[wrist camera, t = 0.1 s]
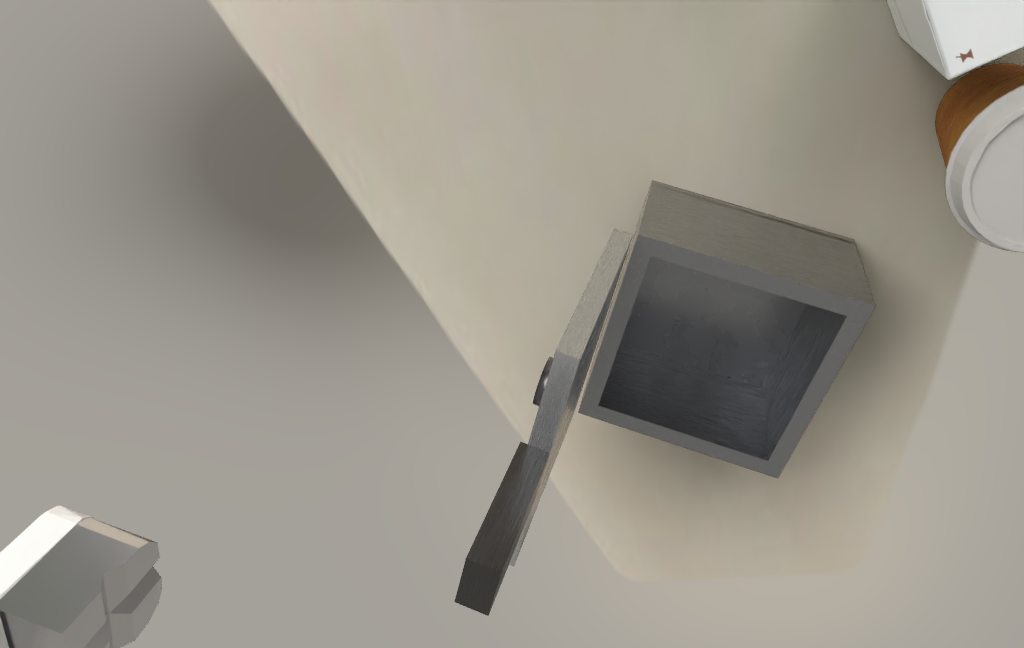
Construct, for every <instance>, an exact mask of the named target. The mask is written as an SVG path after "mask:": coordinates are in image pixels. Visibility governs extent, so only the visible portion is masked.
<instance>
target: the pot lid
mask: <svg viewBox="0 0 1024 648" xmlns="http://www.w3.org/2000/svg"><path fill="white" fill-rule="evenodd" d="M632 236H633V235H632V234H629V233H626V232H623V231H620V230H617V229H614V231H613V233H612V236H611V238H610V240H609V242H608V244H607V246H606V248H605V250H604V252H603V254H602V256H601V258H600V260H599V262H598V264H597V267H596V269H595V271H594V273H593V275H592V277H591V279H590V281H589V283H588V285H587V287H586V289H585V291H584V293H583V296H582V298H581V300H580V302H579V304H578V306H577V308H576V310H575V312H574V314H573V316H572V318H571V320H570V322H569V324H568V327H567V329H566V331H565V333H564V335H563V337H562V339H561V341H560V343H559V345H558V347H557V349H556V352H555V355H554V358H552V357H549V359H548V361H547V363H546V365H545V367H544V370H543V372H542V375H541V377H540V380H539V383H538V386H537V389H536V392H535V396H534V400H533V404H535V405H538V406H539V409H538V413H537V416H536V419H535V423H534V426H533V429H532V433H531V436H530V440H529V443H528V444H525V443H522V442H520V444H519V447H518V449H517V451H516V453H515V455H514V457H513V459H512V462H511V464H510V466H509V468H508V470H507V472H506V474H505V476H504V479H503V481H502V483H501V485H500V488H499V489H498V491H497V493H496V496H495V498H494V500H493V502H492V504H491V506H490V509H489V511H488V513H487V515H486V517H485V519H484V521H483V523H482V526H481V528H480V530H479V532H478V534H477V536H476V538H475V541H474V543H473V545H472V547H471V549H470V551H469V553H468V556H467V558H466V561H465V565H464V568H463V572H462V576H461V580H460V584H459V587H458V591H457V595H456V599H455V602H456V603H459V604H461V605H463V606H466V607H468V608H471V609H473V610H476V611H478V612H480V613H483V614H485V615H489V613H490V610H491V608H492V605H493V603H494V600H495V598H496V595H497V593H498V590H499V588H500V585H501V583H502V580H503V578H504V575H505V573H506V570H507V568H508V565H512V566H514V565H515V562H516V560H517V557H518V554H519V552H520V549H521V547H522V544H523V542H524V539H525V537H526V534H527V531H528V529H529V526H530V523H531V521H532V519H533V516H534V514H535V511H536V508H537V506H538V503H539V501H540V498H541V496H542V493H543V491H544V488H545V486H546V483H547V480H548V478H549V475H550V473H551V470H552V468H553V465H554V463H555V460H556V457H557V455H558V452H559V450H560V447H561V445H562V442H563V440H564V437H565V435H566V432H567V429H568V427H569V424H570V422H571V419H572V417H573V414H574V411H575V408H576V405H577V402H578V399H579V396H580V393H581V390H582V387H583V384H584V381H585V378H586V375H587V372H588V369H589V366H590V363H591V360H592V357H593V354H594V351H595V348H596V345H597V342H598V339H599V336H600V333H601V330H602V327H603V324H604V321H605V318H606V315H607V312H608V309H609V306H610V303H611V300H612V297H613V294H614V291H615V288H616V285H617V282H618V279H619V275H620V272H621V269H622V266H623V263H624V260H625V257H626V254H627V251H628V248H629V245H630V242H631V239H632Z"/></svg>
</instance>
